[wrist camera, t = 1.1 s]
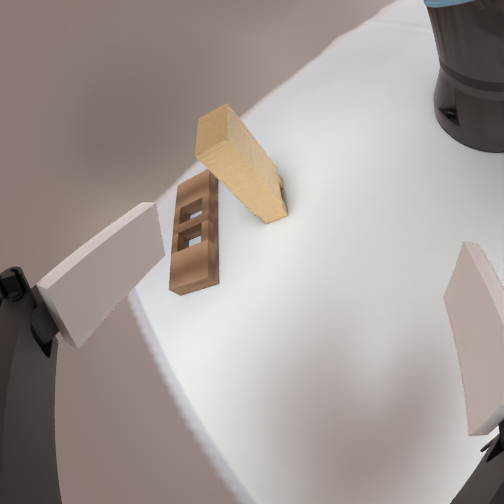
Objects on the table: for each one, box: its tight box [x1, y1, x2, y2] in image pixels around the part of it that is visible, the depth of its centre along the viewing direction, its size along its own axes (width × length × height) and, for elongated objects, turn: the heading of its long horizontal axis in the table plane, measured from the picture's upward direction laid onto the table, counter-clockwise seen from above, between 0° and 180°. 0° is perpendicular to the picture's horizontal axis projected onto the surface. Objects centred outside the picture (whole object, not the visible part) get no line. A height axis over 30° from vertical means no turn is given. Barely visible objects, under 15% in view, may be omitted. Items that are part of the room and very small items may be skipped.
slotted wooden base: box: [169, 169, 219, 295], centre depth 46 cm, size 20×7×2 cm, turn 3°
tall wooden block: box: [195, 103, 288, 224], centre depth 36 cm, size 7×4×15 cm, turn 3°
